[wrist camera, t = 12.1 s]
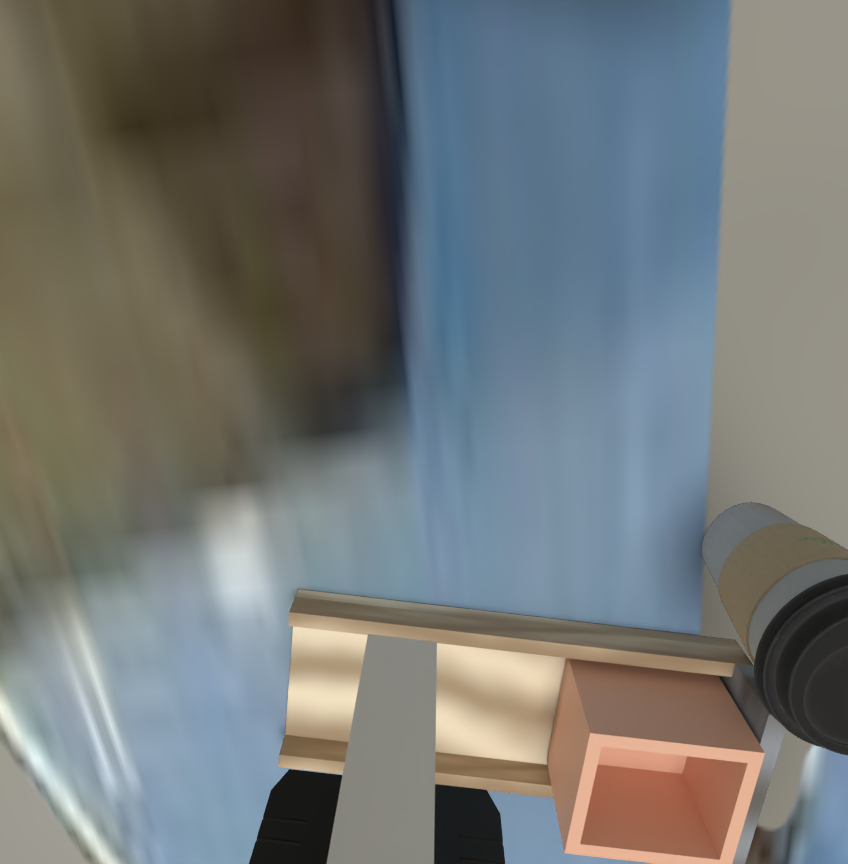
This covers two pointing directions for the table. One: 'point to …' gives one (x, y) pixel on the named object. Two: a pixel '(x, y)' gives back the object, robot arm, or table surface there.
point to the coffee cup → (787, 616)
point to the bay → (488, 686)
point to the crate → (650, 764)
